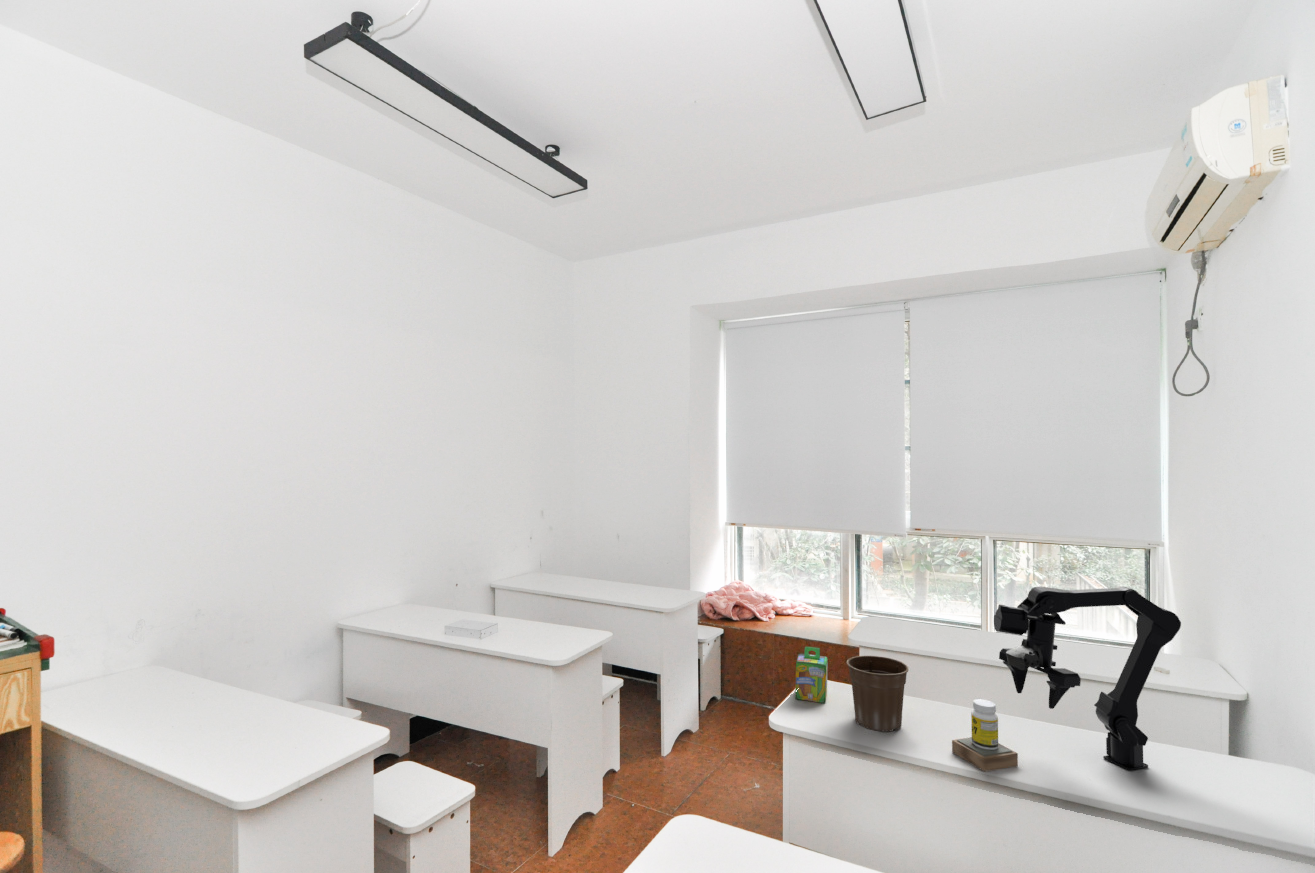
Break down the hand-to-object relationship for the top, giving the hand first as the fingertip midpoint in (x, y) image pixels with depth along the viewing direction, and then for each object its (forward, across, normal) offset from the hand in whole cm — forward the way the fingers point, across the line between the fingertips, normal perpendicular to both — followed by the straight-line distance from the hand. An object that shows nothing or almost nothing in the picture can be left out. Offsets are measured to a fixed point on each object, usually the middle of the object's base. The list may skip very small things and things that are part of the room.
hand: (1034, 700), depth 153 cm
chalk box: (+18, -47, -34) cm, 61 cm away
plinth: (+14, 0, -14) cm, 20 cm away
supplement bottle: (+11, 0, -14) cm, 18 cm away
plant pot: (+17, -25, -26) cm, 40 cm away
